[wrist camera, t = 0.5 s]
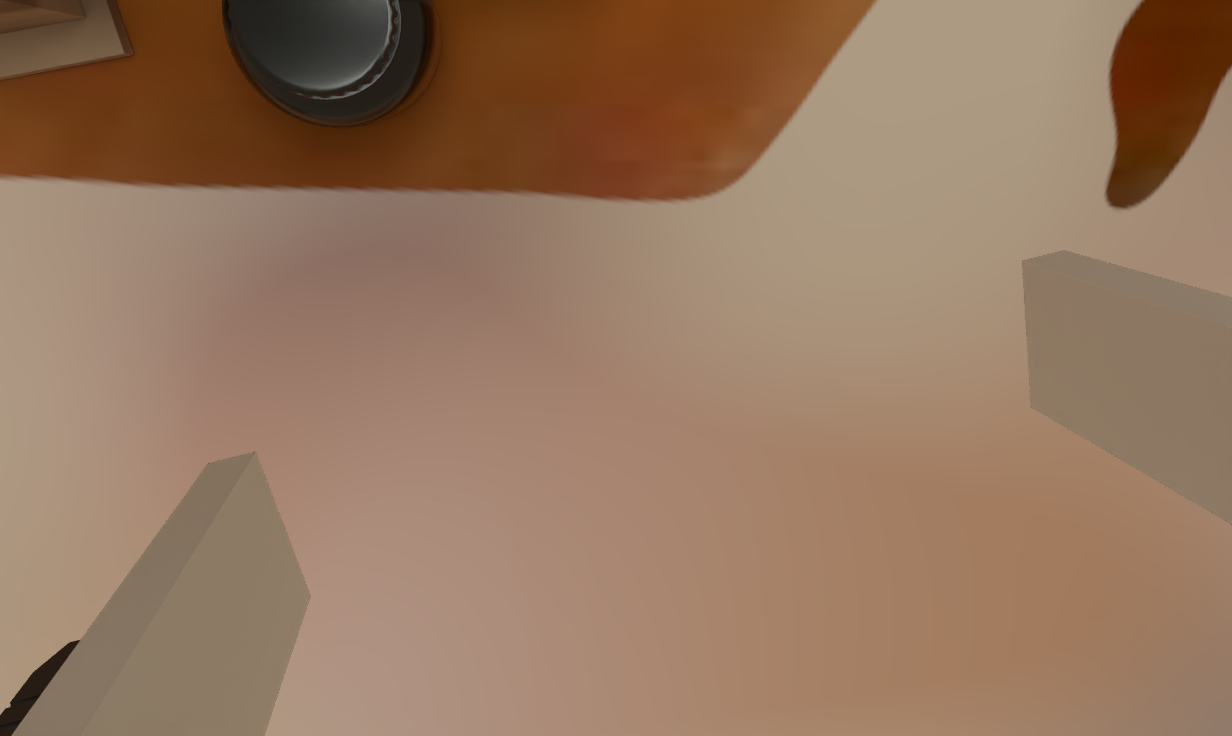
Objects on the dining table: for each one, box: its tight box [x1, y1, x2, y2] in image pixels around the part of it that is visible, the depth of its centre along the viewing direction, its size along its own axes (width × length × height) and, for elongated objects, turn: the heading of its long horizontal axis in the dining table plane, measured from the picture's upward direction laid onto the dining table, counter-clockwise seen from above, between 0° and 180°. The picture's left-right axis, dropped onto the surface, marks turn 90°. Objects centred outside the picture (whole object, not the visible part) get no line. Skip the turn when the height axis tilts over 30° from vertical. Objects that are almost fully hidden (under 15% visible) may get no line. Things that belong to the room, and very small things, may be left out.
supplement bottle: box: [222, 0, 442, 128], centre depth 31 cm, size 7×7×12 cm
